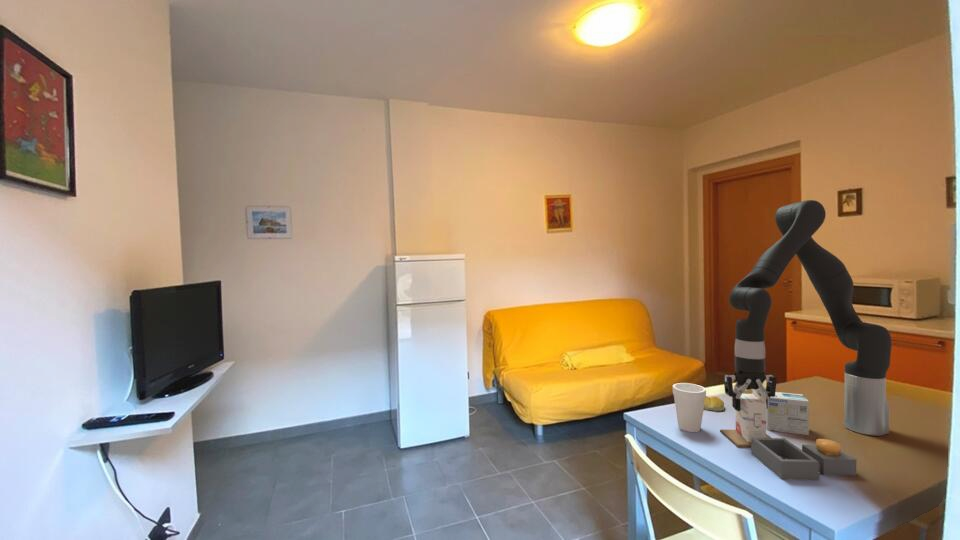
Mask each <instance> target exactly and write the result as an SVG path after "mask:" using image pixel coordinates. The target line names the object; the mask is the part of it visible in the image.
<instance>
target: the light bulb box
mask: <svg viewBox="0 0 960 540" xmlns="http://www.w3.org/2000/svg"><path fill="white" fill-rule="evenodd" d="M809 404H810V403H809V400H808V399H807V398H806V396H804V395H803V394H802V393H791V392H790V393H789V392H780V391H779V392H778V391H777V392H775V396H774V397H769V398H768V405H767V406H768V408H767V409H766V431H772V430H774V432H780V431H781V432H780V433H787V432H788V433H789V434H794V435H795V434H796V435H805V436H810V435H809V434H810V429H809V428H810V424H809V423H810V422H809V421H810V417H809V416H810V413H809V412H810V411H809V410H810V408H809V407H810V406H809ZM788 433H787V434H788Z"/></svg>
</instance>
